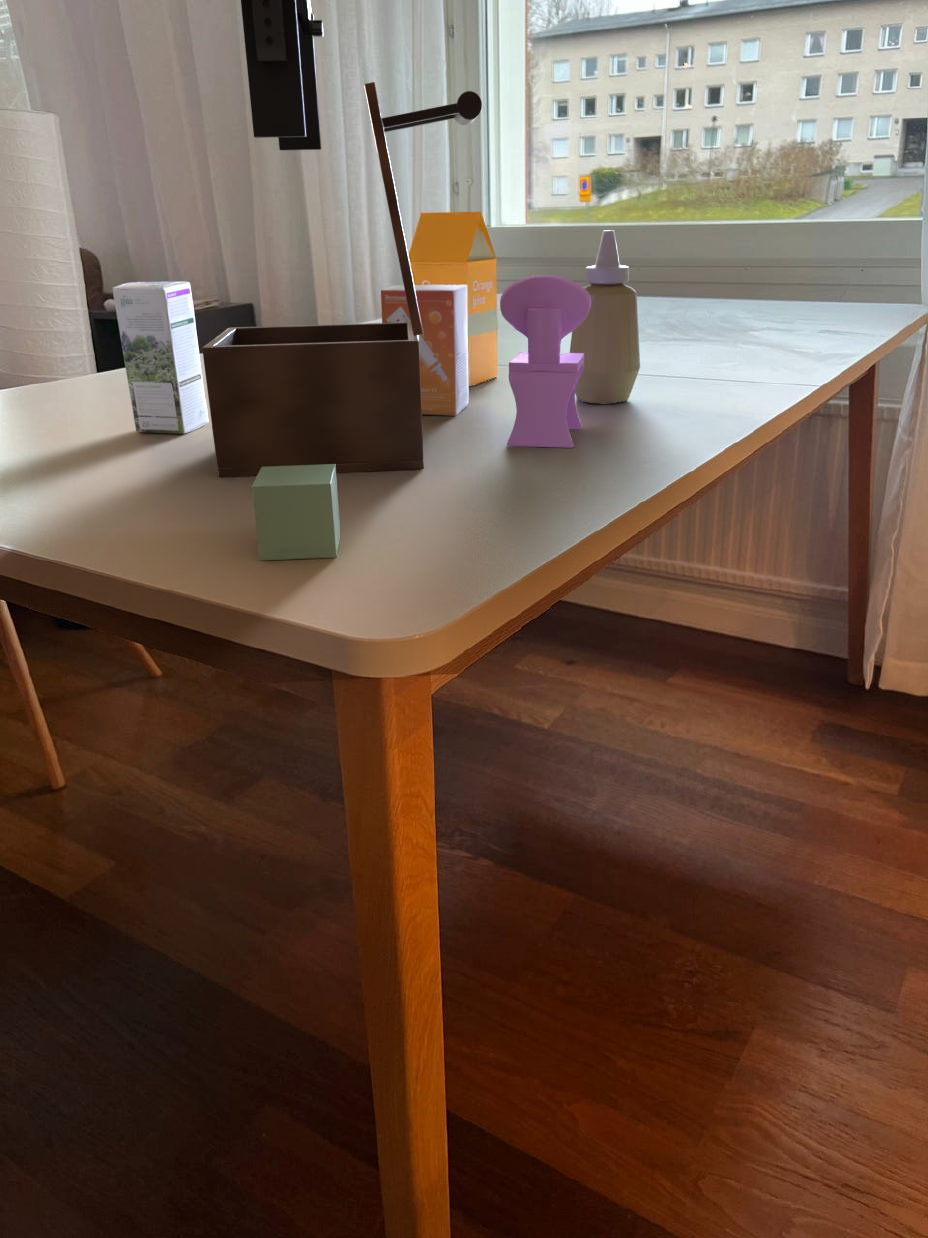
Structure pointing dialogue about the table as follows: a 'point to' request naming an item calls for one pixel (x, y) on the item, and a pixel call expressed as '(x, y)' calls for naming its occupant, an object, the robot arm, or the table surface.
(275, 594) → the table surface
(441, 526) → the table surface
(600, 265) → the squeeze bottle
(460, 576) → the table surface
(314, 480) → the block
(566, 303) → the toy chair
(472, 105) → the lid
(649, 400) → the table surface
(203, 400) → the syrup box
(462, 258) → the orange juice
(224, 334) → the chest
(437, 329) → the small box
